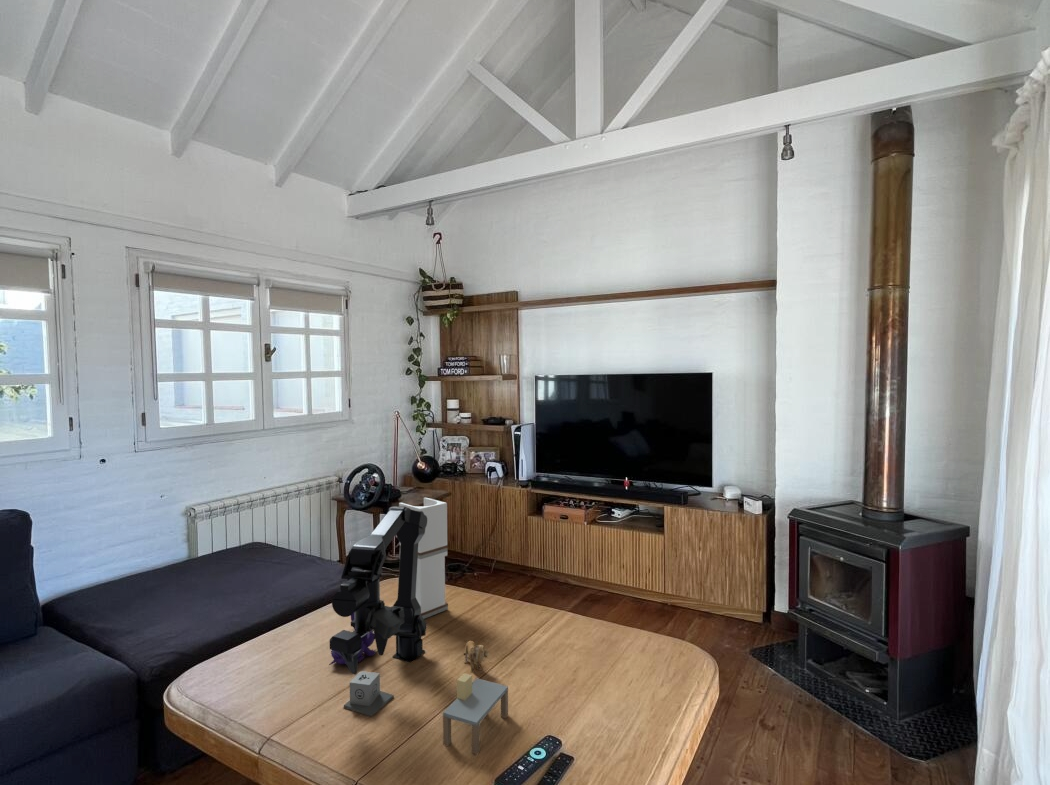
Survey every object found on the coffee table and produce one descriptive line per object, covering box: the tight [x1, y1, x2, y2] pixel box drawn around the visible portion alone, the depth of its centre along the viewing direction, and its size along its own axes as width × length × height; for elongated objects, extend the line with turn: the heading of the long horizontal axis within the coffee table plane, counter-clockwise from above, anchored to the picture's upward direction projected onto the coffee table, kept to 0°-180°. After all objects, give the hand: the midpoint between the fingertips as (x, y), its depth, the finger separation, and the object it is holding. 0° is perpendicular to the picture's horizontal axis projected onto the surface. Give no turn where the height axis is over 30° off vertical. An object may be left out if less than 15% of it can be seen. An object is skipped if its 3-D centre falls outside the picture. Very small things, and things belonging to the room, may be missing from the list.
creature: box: [328, 613, 378, 666], centre depth 150 cm, size 9×18×12 cm, turn 145°
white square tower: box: [398, 497, 449, 620], centre depth 179 cm, size 11×11×35 cm
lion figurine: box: [463, 640, 490, 674], centre depth 145 cm, size 12×4×7 cm, turn 31°
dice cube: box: [349, 670, 381, 706], centre depth 130 cm, size 5×5×5 cm
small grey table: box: [442, 672, 509, 756], centre depth 119 cm, size 8×14×11 cm, turn 155°
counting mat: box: [343, 690, 395, 717], centre depth 129 cm, size 8×8×1 cm
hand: (368, 664), depth 129 cm, fingers open, 9 cm apart
